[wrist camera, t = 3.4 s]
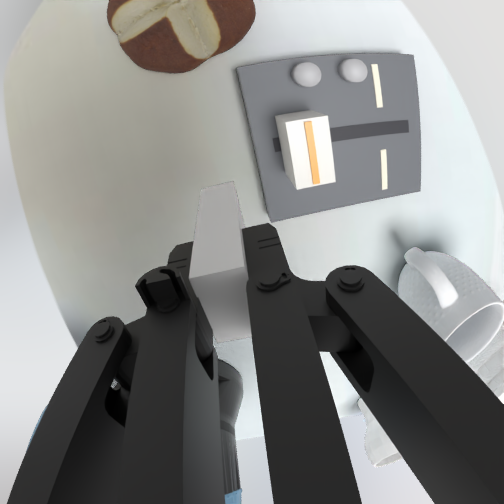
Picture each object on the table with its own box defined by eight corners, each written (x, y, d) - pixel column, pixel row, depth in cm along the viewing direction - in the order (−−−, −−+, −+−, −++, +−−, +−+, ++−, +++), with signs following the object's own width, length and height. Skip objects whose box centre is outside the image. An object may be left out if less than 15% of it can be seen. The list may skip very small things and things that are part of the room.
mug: (355, 258, 33) (407, 342, 22) (424, 197, 30) (500, 260, 19) (402, 314, 40) (442, 383, 29) (457, 268, 36) (508, 327, 25)
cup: (404, 376, 51) (432, 437, 38) (388, 402, 56) (409, 457, 44) (357, 388, 50) (381, 456, 37) (345, 413, 55) (363, 472, 43)
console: (267, 213, 29) (273, 230, 26) (236, 68, 22) (238, 66, 19) (410, 184, 29) (428, 196, 26) (402, 54, 21) (422, 54, 18)
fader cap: (285, 173, 25) (297, 190, 21) (274, 115, 22) (285, 122, 18) (319, 166, 25) (336, 182, 21) (311, 109, 22) (328, 115, 18)
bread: (106, -8, 16) (84, -22, 12) (231, -50, 15) (234, -73, 11) (137, 92, 22) (119, 94, 18) (265, 51, 21) (275, 44, 17)
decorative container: (478, 282, 39) (538, 358, 24) (490, 308, 44) (537, 373, 29) (430, 328, 43) (479, 411, 28) (448, 347, 48) (488, 416, 33)
